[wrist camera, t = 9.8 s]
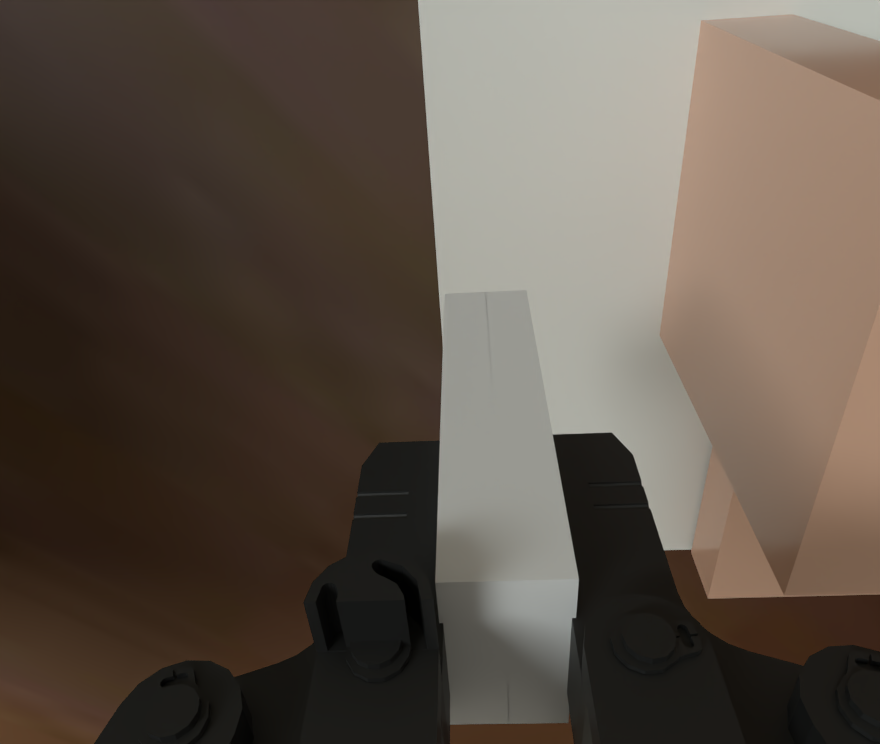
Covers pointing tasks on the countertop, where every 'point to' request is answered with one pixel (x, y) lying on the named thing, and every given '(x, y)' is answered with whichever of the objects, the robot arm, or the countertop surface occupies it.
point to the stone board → (583, 199)
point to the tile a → (731, 545)
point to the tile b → (785, 288)
